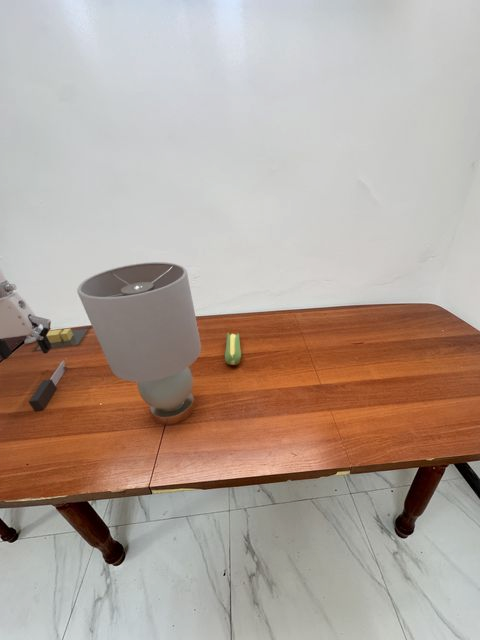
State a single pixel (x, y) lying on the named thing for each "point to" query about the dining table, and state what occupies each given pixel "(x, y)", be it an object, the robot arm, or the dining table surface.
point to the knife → (46, 389)
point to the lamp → (147, 332)
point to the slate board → (73, 341)
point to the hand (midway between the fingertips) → (28, 353)
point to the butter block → (54, 336)
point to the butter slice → (67, 334)
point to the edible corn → (232, 349)
